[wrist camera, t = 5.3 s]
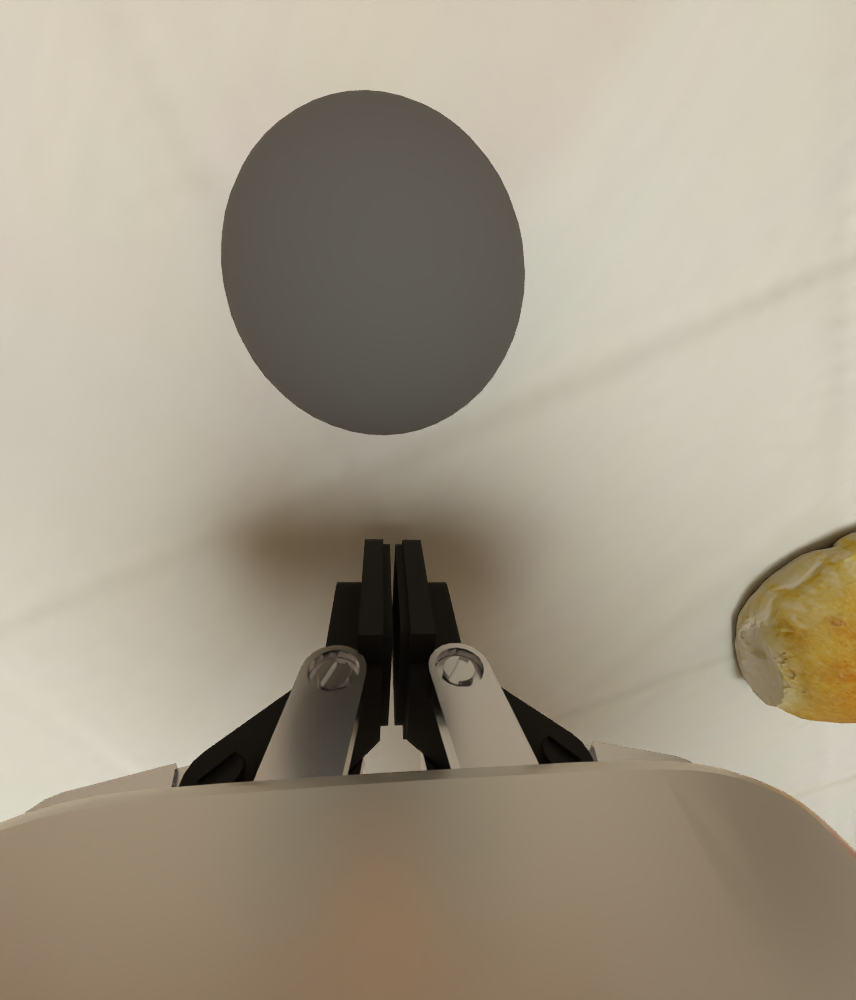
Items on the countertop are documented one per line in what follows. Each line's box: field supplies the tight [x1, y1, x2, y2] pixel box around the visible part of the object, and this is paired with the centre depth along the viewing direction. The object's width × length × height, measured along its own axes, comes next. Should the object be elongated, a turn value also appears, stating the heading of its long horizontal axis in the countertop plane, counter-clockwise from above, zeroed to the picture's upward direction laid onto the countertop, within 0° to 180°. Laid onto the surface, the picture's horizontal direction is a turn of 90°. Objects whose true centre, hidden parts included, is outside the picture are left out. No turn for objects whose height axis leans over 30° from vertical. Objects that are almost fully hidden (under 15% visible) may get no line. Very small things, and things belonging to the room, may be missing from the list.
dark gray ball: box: [221, 90, 525, 435], centre depth 8 cm, size 6×6×6 cm
